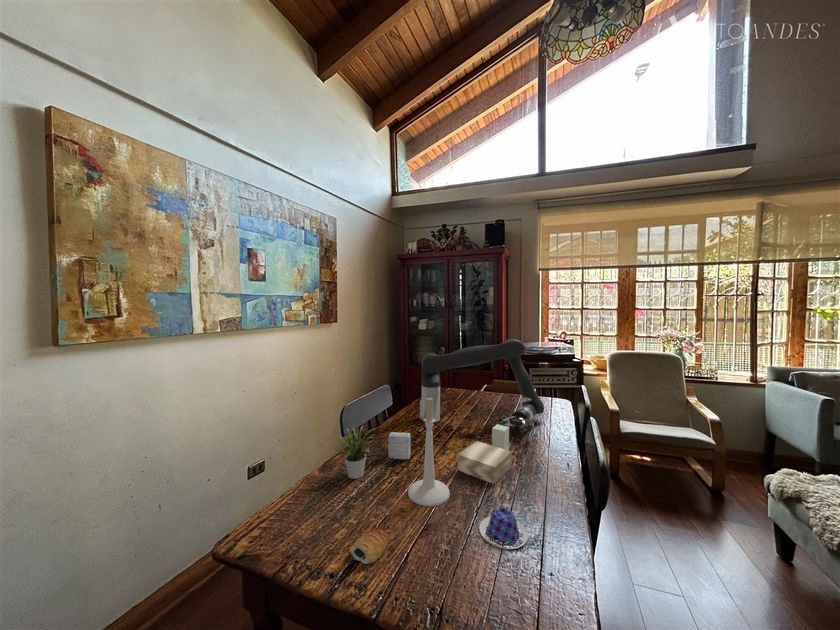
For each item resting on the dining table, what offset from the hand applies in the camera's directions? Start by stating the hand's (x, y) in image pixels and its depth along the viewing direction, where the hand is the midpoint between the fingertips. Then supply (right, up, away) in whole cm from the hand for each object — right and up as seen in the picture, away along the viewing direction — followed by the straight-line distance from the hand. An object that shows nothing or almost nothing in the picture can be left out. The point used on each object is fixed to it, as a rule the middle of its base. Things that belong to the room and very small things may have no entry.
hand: (510, 427), depth 135 cm
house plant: (-59, -7, -26) cm, 65 cm away
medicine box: (-46, -7, -13) cm, 48 cm away
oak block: (-15, -7, -21) cm, 27 cm away
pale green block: (-7, -7, -9) cm, 13 cm away
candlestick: (-36, -8, -36) cm, 51 cm away
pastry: (-50, -9, -59) cm, 78 cm away
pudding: (-17, -9, -53) cm, 56 cm away
